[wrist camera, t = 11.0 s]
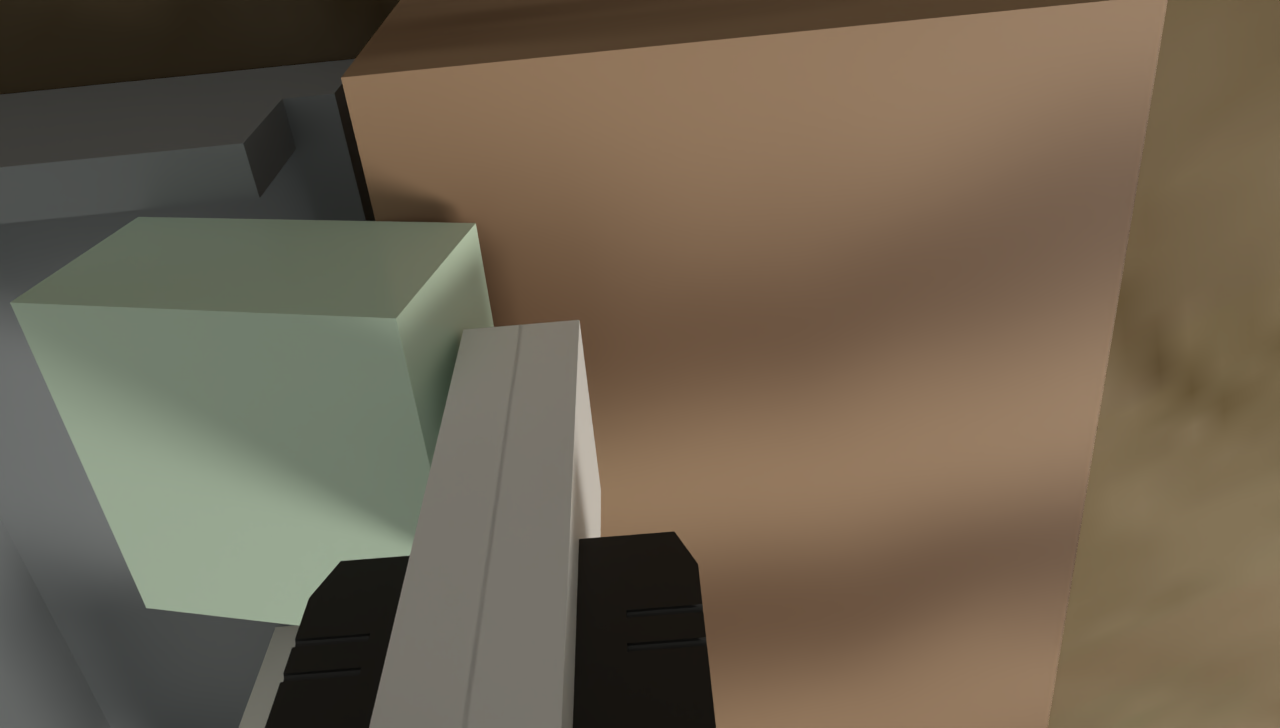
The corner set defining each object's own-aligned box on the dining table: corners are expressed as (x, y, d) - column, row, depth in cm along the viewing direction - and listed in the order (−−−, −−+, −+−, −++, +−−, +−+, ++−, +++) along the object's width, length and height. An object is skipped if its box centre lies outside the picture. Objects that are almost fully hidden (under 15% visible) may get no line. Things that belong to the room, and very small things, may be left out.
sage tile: (528, 523, 16) (471, 645, 14) (238, 498, 17) (146, 607, 15) (475, 223, 13) (396, 317, 11) (138, 216, 15) (9, 302, 12)
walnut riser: (948, 749, 27) (1012, 940, 23) (565, 781, 27) (558, 975, 23) (1024, -73, 17) (1169, -7, 12) (407, -10, 17) (341, 78, 13)
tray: (521, 760, 27) (509, 910, 23) (139, 792, 27) (71, 945, 24) (360, 58, 18) (300, 137, 14) (-221, 116, 18) (-419, 208, 14)
